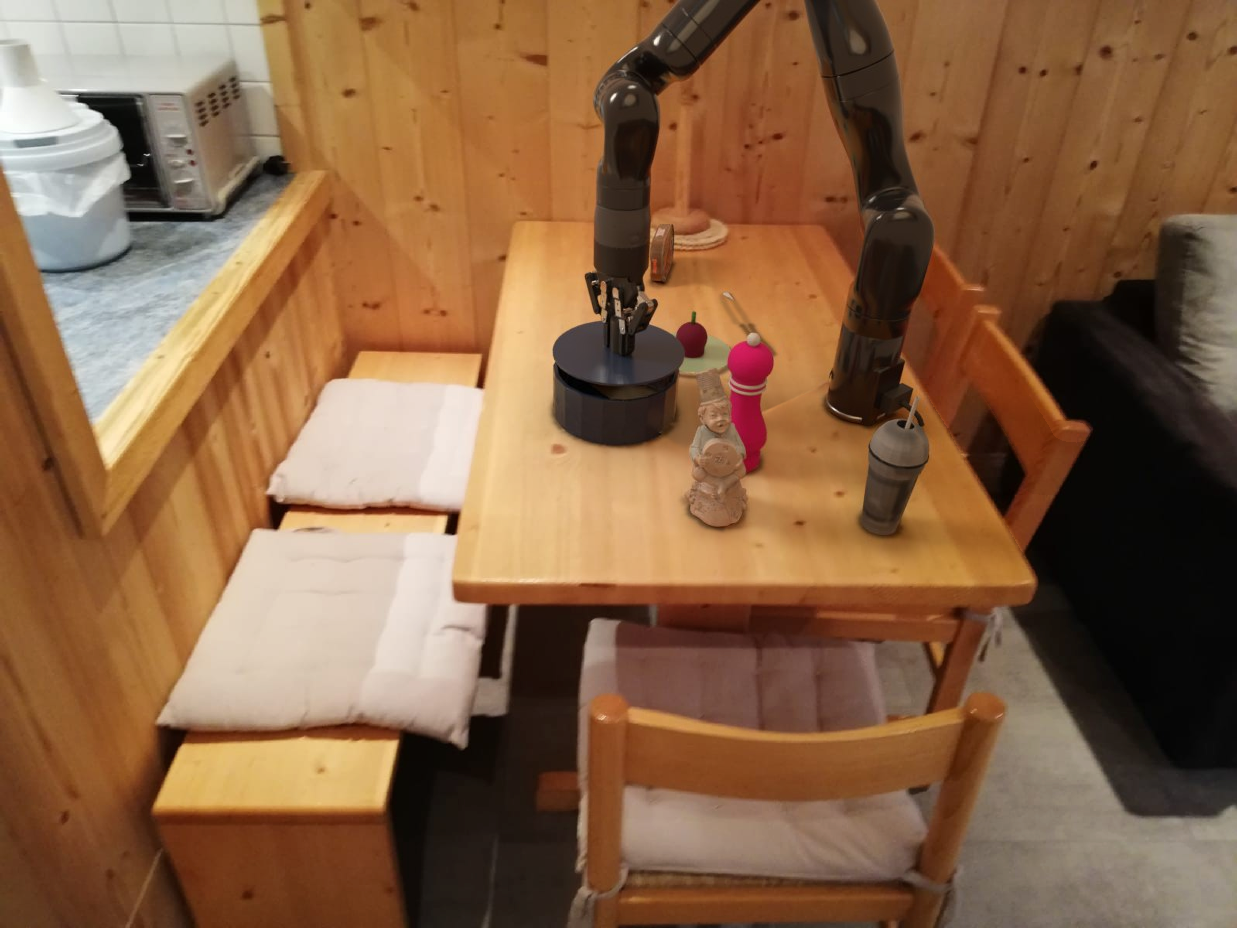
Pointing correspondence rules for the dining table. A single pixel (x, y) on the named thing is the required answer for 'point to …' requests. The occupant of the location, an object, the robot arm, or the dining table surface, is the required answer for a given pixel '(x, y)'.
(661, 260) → the tin
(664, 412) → the pan
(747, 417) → the pepper mill
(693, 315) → the beet
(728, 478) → the figurine
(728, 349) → the plate
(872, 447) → the beverage cup
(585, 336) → the pan lid
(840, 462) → the dining table surface
